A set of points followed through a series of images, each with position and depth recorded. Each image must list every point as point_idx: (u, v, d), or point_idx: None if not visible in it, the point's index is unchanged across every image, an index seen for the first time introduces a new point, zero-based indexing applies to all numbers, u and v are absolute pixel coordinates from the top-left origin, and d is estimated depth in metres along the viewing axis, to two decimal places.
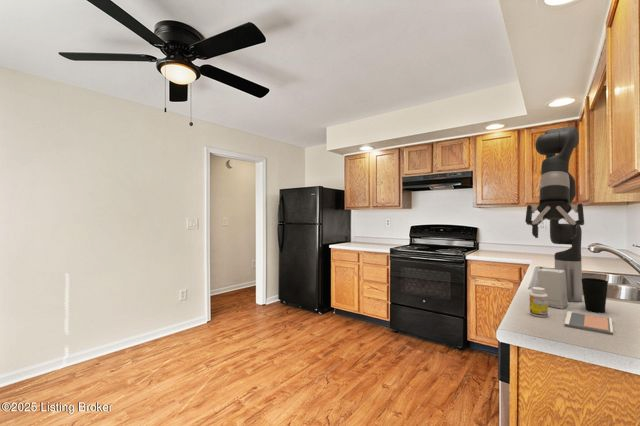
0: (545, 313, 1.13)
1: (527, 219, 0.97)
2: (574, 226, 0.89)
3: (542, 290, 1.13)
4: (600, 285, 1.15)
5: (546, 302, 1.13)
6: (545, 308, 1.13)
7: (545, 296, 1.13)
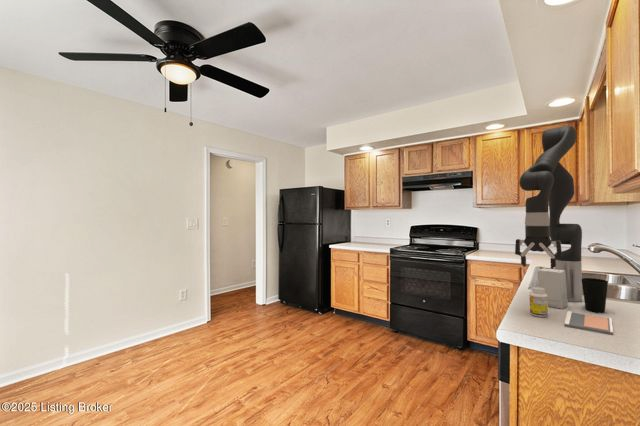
0: (545, 313, 1.13)
1: (516, 252, 1.19)
2: (554, 259, 1.11)
3: (542, 290, 1.13)
4: (600, 285, 1.15)
5: (546, 302, 1.13)
6: (545, 308, 1.13)
7: (545, 296, 1.13)
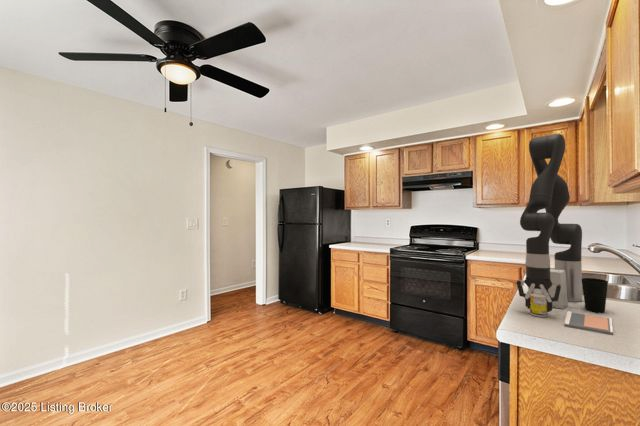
0: (545, 313, 1.13)
1: (520, 293, 1.18)
2: (550, 303, 1.12)
3: None
4: (600, 285, 1.15)
5: (546, 302, 1.13)
6: (545, 308, 1.13)
7: (545, 296, 1.13)
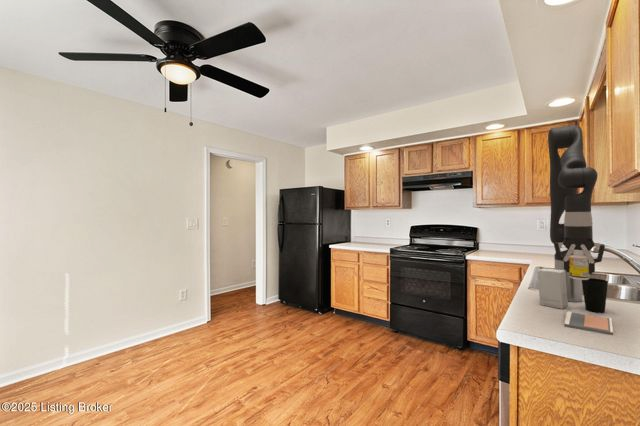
0: (587, 275, 1.04)
1: (558, 256, 1.10)
2: (593, 264, 1.04)
3: (583, 251, 1.05)
4: (600, 285, 1.15)
5: (588, 264, 1.05)
6: (587, 270, 1.04)
7: (587, 257, 1.05)
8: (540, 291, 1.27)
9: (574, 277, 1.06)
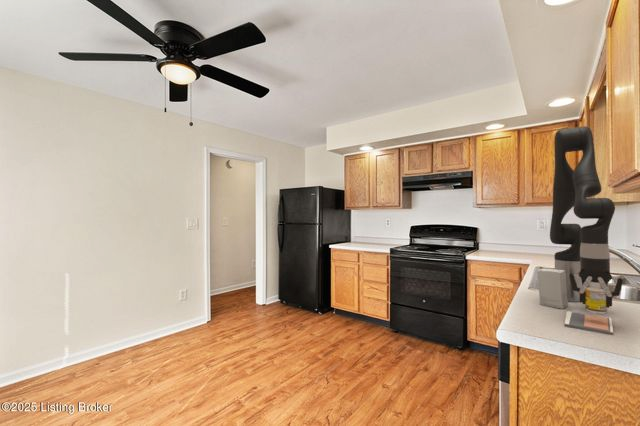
0: (604, 309, 1.02)
1: (574, 288, 1.07)
2: (610, 297, 1.01)
3: (600, 284, 1.02)
4: None
5: (605, 297, 1.02)
6: (604, 303, 1.02)
7: (604, 290, 1.02)
8: (540, 291, 1.27)
9: (591, 310, 1.03)
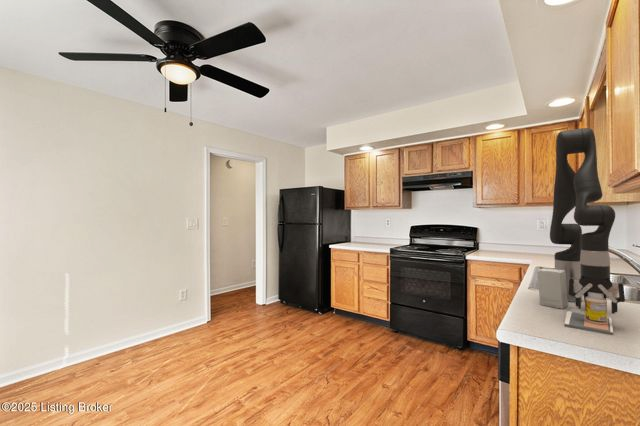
0: (604, 320, 1.02)
1: (570, 292, 1.08)
2: (615, 303, 1.01)
3: (601, 294, 1.03)
4: None
5: (606, 308, 1.02)
6: (604, 314, 1.02)
7: (604, 301, 1.02)
8: (540, 291, 1.27)
9: (591, 321, 1.04)
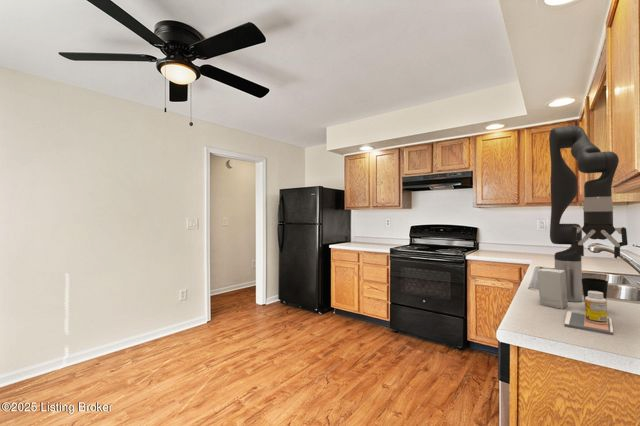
0: (604, 320, 1.02)
1: (573, 240, 1.09)
2: (618, 248, 1.02)
3: (601, 294, 1.03)
4: (600, 285, 1.15)
5: (606, 308, 1.02)
6: (604, 314, 1.02)
7: (604, 301, 1.02)
8: (540, 291, 1.27)
9: (591, 321, 1.04)
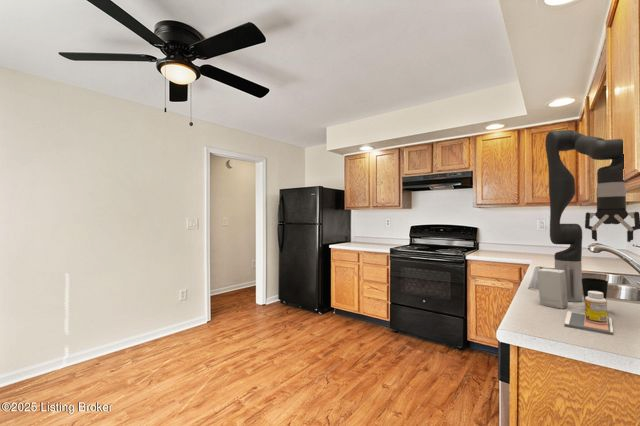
0: (604, 320, 1.02)
1: (586, 225, 1.12)
2: (631, 232, 1.05)
3: (601, 294, 1.03)
4: (600, 285, 1.15)
5: (606, 308, 1.02)
6: (604, 314, 1.02)
7: (604, 301, 1.02)
8: (540, 291, 1.27)
9: (591, 321, 1.04)
